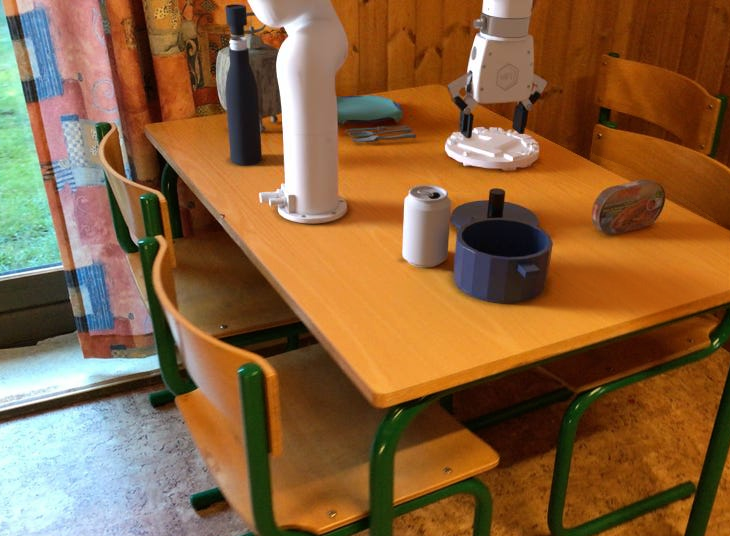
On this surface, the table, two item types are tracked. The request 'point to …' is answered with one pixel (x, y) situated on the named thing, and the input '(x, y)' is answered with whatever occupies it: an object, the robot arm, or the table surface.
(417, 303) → the table surface
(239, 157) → the dark blue bottle
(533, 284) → the pot
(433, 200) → the can
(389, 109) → the cutlery set
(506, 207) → the pot lid
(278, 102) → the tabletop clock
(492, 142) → the embossed medallion
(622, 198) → the tin
